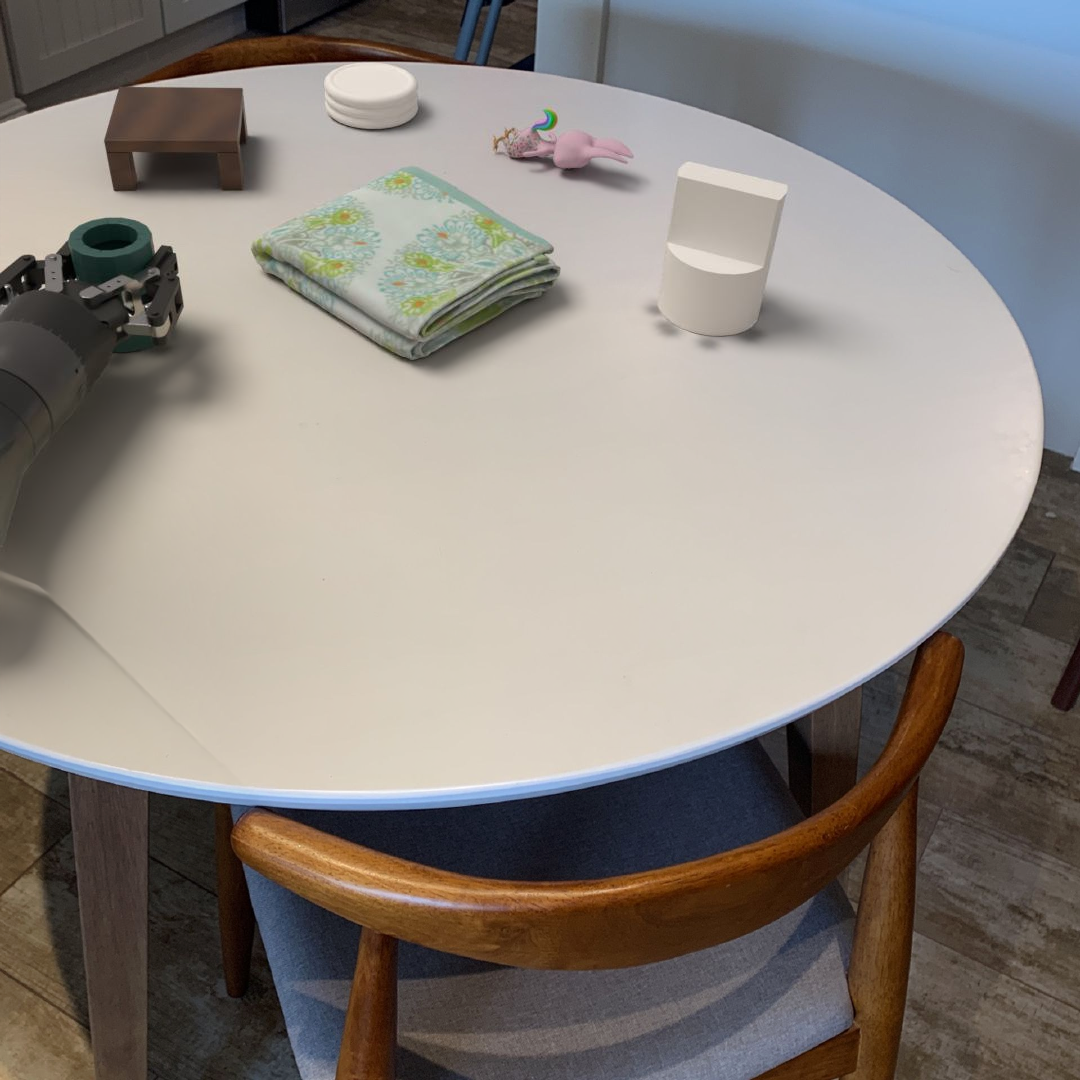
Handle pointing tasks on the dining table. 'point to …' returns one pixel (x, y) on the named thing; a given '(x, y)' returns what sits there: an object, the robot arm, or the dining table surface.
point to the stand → (176, 129)
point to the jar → (112, 258)
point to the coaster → (371, 95)
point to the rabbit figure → (561, 144)
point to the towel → (408, 261)
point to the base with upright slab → (719, 249)
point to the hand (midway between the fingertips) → (127, 250)
